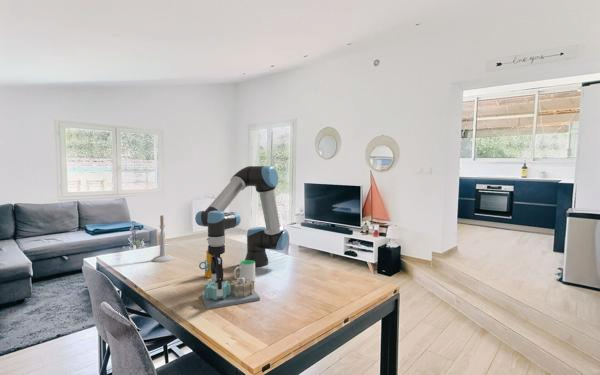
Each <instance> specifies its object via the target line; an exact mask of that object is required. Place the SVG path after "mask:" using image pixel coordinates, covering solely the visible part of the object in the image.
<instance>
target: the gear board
mask: <svg viewBox="0 0 600 375" xmlns="http://www.w3.org/2000/svg"><path fill="white" fill-rule="evenodd" d="M240 284H245V278H240ZM214 286H216V283H215V282H214ZM200 297H201V298H202V301H203V304H204V306H205V308H206V310H209V309H218V308H222V307H229V306H234V305H240V304H241V305H242V304H246V303H251V302H256V301H260V300H261V297H260V295H259V294H258V292H256V291H255V290H254V294H253V295H247V297H243V296H239V297H235V295H231V294H230V295H227V296H226V298H224V299H223V298H219V299H217V300H213V299H212V298H209V299H207V298H206V296H205V291H203V292H200Z"/></svg>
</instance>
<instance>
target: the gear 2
mask: <svg viewBox="0 0 600 375" xmlns="http://www.w3.org/2000/svg"><path fill="white" fill-rule="evenodd" d="M254 291H255V282H254V281H253V280H252V281H251V280H250V279H245V284H240V279H236V280H231V283H230V294H231V295H235V297H239V296H243V297H247V295H253V294H254Z"/></svg>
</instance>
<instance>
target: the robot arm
mask: <svg viewBox="0 0 600 375" xmlns="http://www.w3.org/2000/svg"><path fill="white" fill-rule="evenodd" d="M278 184H279V174H278V171H277V169H276V168H275V167H273V166H269V165H257V166H256V165H255V166H253V165H247V166H246V167H243V168H241V169H240V170H238V171H237V172H236V173H235V174H234V175H233V176H232V177H231V178H230V182H229V183H228V184H227V185H226V186H225V187H224V189H223V190H222V191H221V192H220V193H219V194H218V196H216V198H214V200H213V201H212V202H211V204H209V206H208V207H207V208H206V209H205V210H200V211H197V213H196V215H195V217H194V218H195V222H196V224H197V225H198V226H200V227H207V238H206V241H207V244H208V246H207V250H208V253H209V254H211V273H212V278H211V281H215V283H216V296H217V297H218V296H223V282H224V281H225V280H224V270H223V258H222V257H221V255H223V254H224V253H225V252H226V248H225V247H226V245H225V243H226V237H225V236H226V233H225V231H227V230H229V229H232V228H233V229H234V228H236V227H237V226H240V223H241V215H240V213H238V212H236V211H230V212H225V210H226V209H227V208H228V207H229V205H231V203H232V202H233V201H234V199H235V198H236V197H237V196H239V193H240V192H241V191H244V190H245V189H246V188H248V187H254V188H255V191H256V193H258V194H259V198H260V203H261V210H262V213H263V220H264V224H265V226H258V227H257V226H256V227H251V228H249V229H248V230H247V231H246V232H247V233H246V248H247V250H246V255H245V258H244V261H245V260H252V261H255V268H259V267H260V268H261V267H264V266H267V265H269V258H268V254H267V252H266V249H267V250H272V251H273V250H274V251H283V250H284V249H285V248H286V247H287V245H288V242H289V234H288V232H287V231H286V230H285V231H284V228H283V227H284V226H282V225H281V224H280V218H279V213H278V207H277V201H276V196H275V195H276V194H275V190H276V187H277V185H278Z"/></svg>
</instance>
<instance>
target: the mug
mask: <svg viewBox="0 0 600 375" xmlns="http://www.w3.org/2000/svg"><path fill="white" fill-rule="evenodd" d="M238 269H239V277H237V276H236V273H237V270H238ZM233 277H234V279H236V280H238V279H240V278H245V279H250V280H251V281H252V280H253V281H254V283H255V282H256V267H255V261H252V260H245V259H244V260H241V261H240V262H239V266H236V267H235V268H234V269H233Z"/></svg>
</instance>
